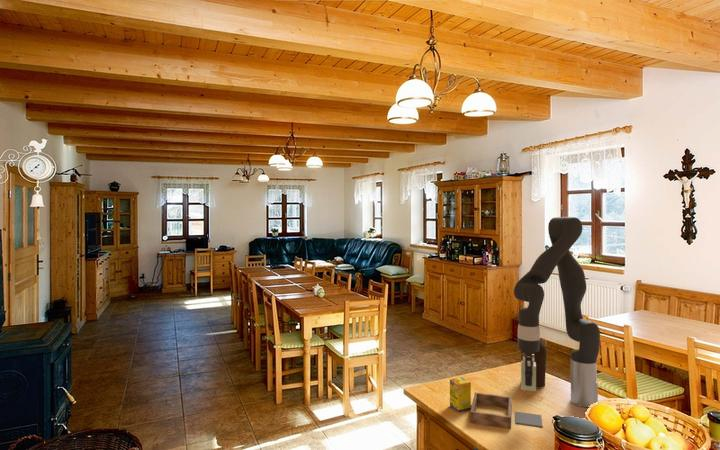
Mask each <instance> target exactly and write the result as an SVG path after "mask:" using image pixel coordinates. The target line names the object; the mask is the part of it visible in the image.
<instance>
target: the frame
mask: <svg viewBox="0 0 720 450" xmlns="http://www.w3.org/2000/svg"><path fill="white" fill-rule="evenodd" d="M512 401H513V399H512V396H507V395H499V394H491V393H482V392H476V391H475V392H474V395H473V399H472V402H471V409H470V415H469V416H470V423H471V424H478V425H484V426H489V427H497V428H504V429H512V411H513V410H512V406H513V405H512V403H513V402H512ZM478 404H479V405H485V406H486V405H487V406H492V407H493V406H494V407H501V408H508V409H507V410H508V411H507V412H508V415H504V414H496V413H491V412H490V413H489V412H481V411H478V410H477V406H478Z"/></svg>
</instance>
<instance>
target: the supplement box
mask: <svg viewBox="0 0 720 450" xmlns="http://www.w3.org/2000/svg"><path fill="white" fill-rule="evenodd" d="M471 383H472V382H471V381H470V380H469V381H468V379H466V378H464V377H463V376H458V377H454V378H450V379H449V406H450V407H451V408H452V409H454V410H456V412H457V413H461V412H465V411H471V407H472V401H471V400H472V399H471V398H472V396H471V395H472V392H471V390H472V389H471V388H472V387H471V386H472V384H471Z"/></svg>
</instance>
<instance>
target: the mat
mask: <svg viewBox="0 0 720 450" xmlns="http://www.w3.org/2000/svg"><path fill="white" fill-rule="evenodd" d="M515 424H517V425H525V426H529V427H538V428H543V418H542V414H536V413H530V412H529V413H528V412H524V411H523V412H522V411H515Z"/></svg>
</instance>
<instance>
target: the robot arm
mask: <svg viewBox="0 0 720 450" xmlns="http://www.w3.org/2000/svg"><path fill="white" fill-rule="evenodd" d="M547 225H548V226H547V227H548V230H547V231H548V237H549V239H550V242H551V246H549V247H548V249H545V250H544V252H543V251H542V252H541V253H540V255H539V256H538V257H537V258H536V260H535V261H534V263H533V264H532V266H531V267H530V270H528V271H527V272H526V273H525V274H524V275H523V276H522V277H521V278H520V279H519V280H518V281H517V282H516V284H515V285H514V288H513V295H514V296H513V297H515V299H517V300H518V301H521V302H527V303H528V305H527V307H521V308H519V309H518V326H517V349H518V350H519V351H520V352H521V351H524V352H525V353H523V361H524V368H525V385H526V386H532V375H533V369H534V354H532V353H533V352H538V351H539V350H540V340H541V338H540V337H541V332H540V313H541V308H542V305H543V303H544V300H545V290H544V288H543V287H542V285H541V284H543V285H544V284H545V283H546V282H548V281H549V279H550V277H551V275H552V274H553V272H554V270H555V268H556V267H557V271H558V272H557V273H558V279H559V280H558V281H559V285H560V288H561V289H560V290H561V295H562V301H563V307H564V320H565V330H566V334H567V337H569V339H571V340H572V341H575V342H578V343H579V347H578V349H574V350H572V351H571V352H570V402H571V403H572V404H574V405H576V406H578V407H583V408H589V407H588V406H590V405H591V404H593V403H596V402H598V399H599V394H598V393H599V392H598V391H599V384H598V381H597V380H598V377H597V376H598V375H597V374H598V371H597V370H598V364H597V363H598V356H599V355H600V354H599V353H600V344H601V342H600V341H601V332H600V328H599V326H598V324H596V323H595V322H594V321H590V320H588V319H584V317H583V314H582V313H583V312H582V302H583V299H584V297H585V295H586V292H587V281H586V275H585V272H584V269H583V267H582V266H581V264H580V263H579V261H577V259H576V258H575V256H573V254H572V253H571V251H570V249H571V248H572V247H573V246H574V244H575V243H576V242H577V241H578V239H579V238H580V236H581V235H582V232H583V223H582V221H581V220H580V218H578V217H576V216H561V217H560V216H558V217H557V216H556V217H552V218H551V219H550V220H549V222H548V224H547ZM527 370H531V372H527ZM598 403H599V402H598Z"/></svg>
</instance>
